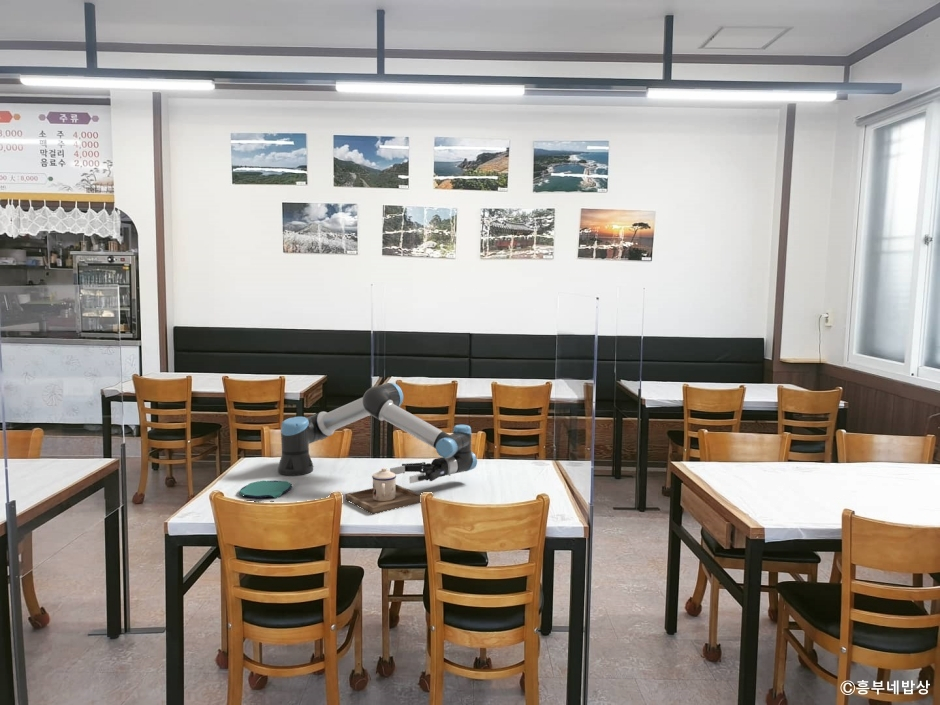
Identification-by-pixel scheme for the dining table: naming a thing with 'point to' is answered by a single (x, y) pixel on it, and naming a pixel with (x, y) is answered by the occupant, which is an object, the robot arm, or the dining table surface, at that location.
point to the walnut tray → (373, 506)
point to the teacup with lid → (384, 485)
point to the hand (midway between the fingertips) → (400, 475)
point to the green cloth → (265, 489)
